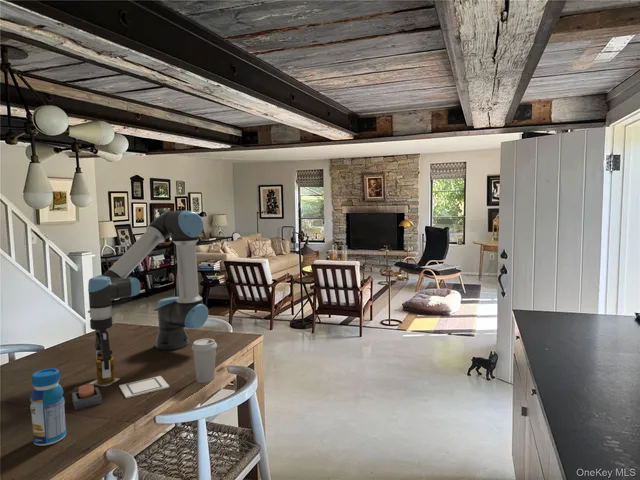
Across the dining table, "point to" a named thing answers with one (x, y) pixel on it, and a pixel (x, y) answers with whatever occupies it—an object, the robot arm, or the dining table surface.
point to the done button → (86, 390)
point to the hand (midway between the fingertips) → (103, 371)
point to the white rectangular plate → (143, 386)
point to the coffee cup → (204, 359)
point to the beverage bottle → (47, 407)
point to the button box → (86, 400)
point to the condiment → (100, 379)
